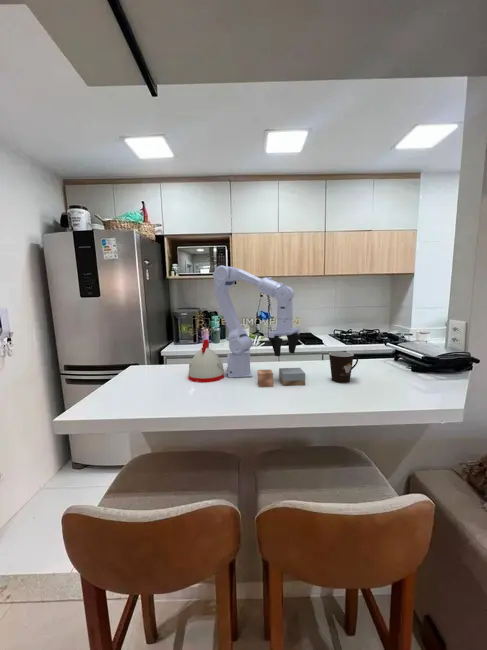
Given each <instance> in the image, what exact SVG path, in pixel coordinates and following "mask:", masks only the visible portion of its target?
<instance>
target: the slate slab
mask: <svg viewBox="0 0 487 650" xmlns="http://www.w3.org/2000/svg"><path fill="white" fill-rule="evenodd" d="M279 375H280V377H281V379H282V380H283V381H295V380H305V381H306V372H304V370H303V369H302V368H301V367H281V368H280V367H279V368H278V376H279Z"/></svg>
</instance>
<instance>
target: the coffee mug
mask: <svg viewBox="0 0 487 650" xmlns="http://www.w3.org/2000/svg"><path fill="white" fill-rule="evenodd" d="M328 355H329V365H330V366H329V367H330V374H331V381H332V382H334V383H339V384H347V383H350V382H351V376H352V370H353V369H354V368H355V367H356V366H357V365H358V363H359V362H358V361H359V357H358V356H357V355H354V353H352V352H348V351H332V352H329V353H328ZM354 358H355V359H356V361H355V363H354V364H353V362H354Z"/></svg>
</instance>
